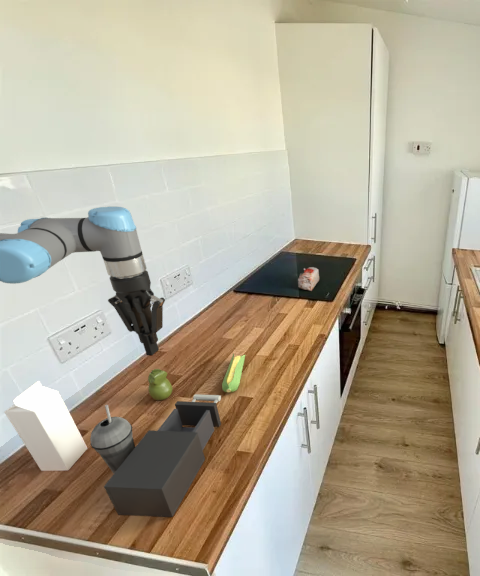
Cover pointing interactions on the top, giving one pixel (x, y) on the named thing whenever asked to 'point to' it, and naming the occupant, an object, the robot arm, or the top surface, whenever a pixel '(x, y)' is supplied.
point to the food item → (308, 279)
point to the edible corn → (233, 374)
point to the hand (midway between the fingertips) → (152, 352)
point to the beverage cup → (113, 440)
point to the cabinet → (156, 474)
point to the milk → (46, 428)
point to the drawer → (195, 417)
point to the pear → (159, 385)
